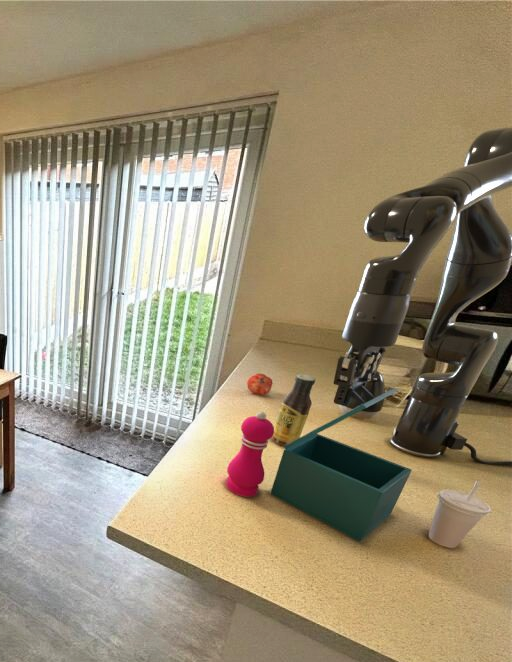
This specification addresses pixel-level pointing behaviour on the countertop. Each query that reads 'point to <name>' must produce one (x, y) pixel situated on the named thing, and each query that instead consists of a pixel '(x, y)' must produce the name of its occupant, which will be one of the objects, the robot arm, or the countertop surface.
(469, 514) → the smoothie
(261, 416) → the pepper mill
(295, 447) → the cool box
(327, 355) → the countertop surface
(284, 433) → the sauce bottle
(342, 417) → the lid
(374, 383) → the black dome
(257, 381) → the tomato
